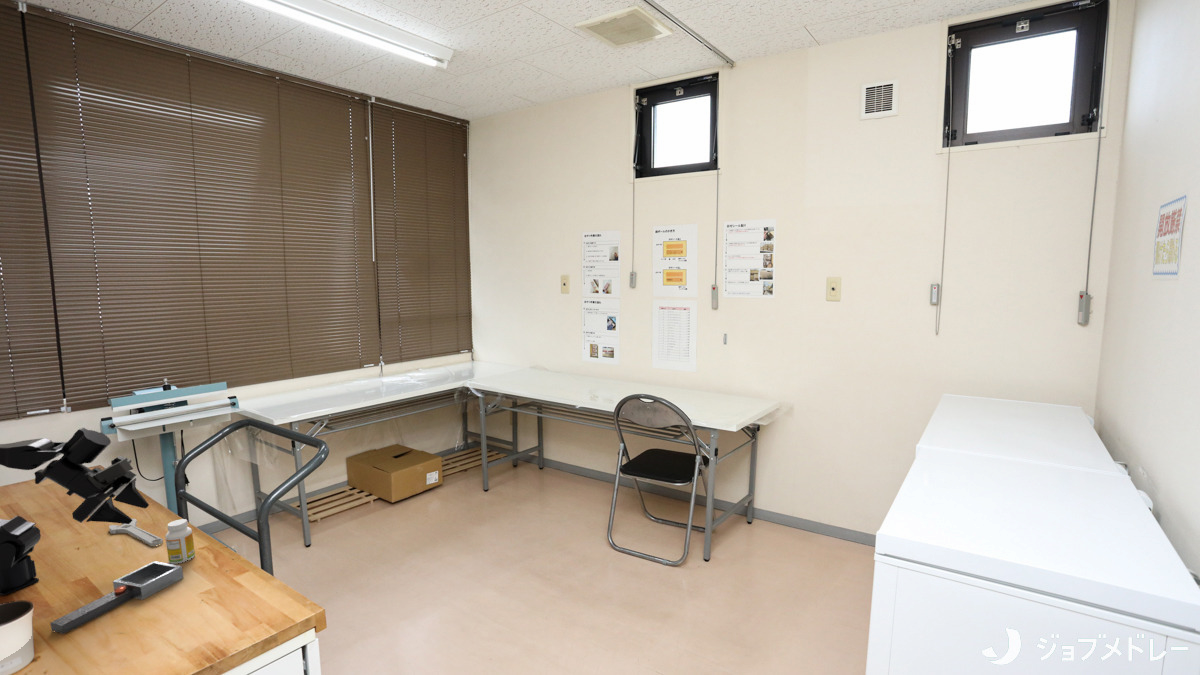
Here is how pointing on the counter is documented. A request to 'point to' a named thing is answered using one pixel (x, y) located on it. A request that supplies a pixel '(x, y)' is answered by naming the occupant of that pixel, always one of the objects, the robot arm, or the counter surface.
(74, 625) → the grey rectangular scoop
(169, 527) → the supplement bottle
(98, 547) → the counter surface
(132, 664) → the counter surface
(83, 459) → the robot arm
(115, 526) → the adjustable wrench
